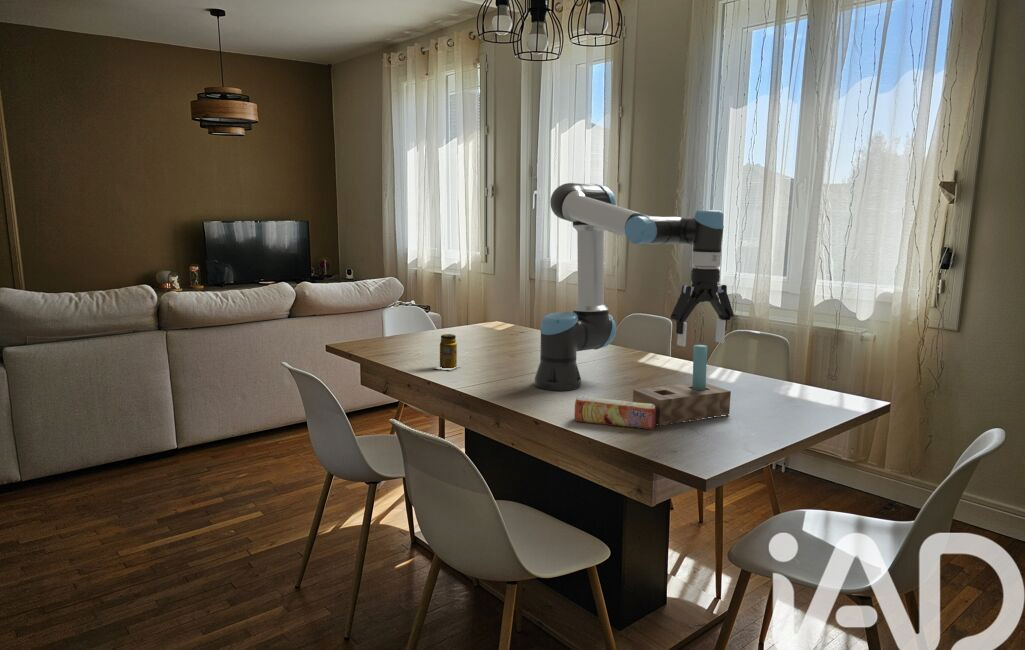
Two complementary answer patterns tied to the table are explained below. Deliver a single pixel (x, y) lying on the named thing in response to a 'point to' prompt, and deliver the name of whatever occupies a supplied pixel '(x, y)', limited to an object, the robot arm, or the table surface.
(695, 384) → the peg
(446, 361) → the condiment
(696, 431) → the table surface
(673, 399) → the hole block
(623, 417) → the snack package
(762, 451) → the table surface
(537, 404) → the table surface
